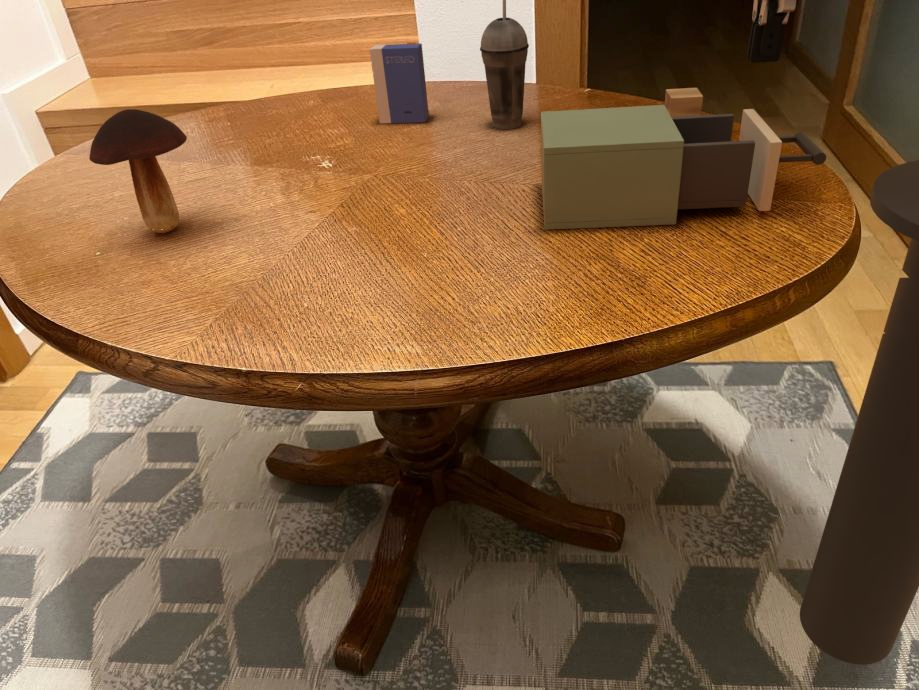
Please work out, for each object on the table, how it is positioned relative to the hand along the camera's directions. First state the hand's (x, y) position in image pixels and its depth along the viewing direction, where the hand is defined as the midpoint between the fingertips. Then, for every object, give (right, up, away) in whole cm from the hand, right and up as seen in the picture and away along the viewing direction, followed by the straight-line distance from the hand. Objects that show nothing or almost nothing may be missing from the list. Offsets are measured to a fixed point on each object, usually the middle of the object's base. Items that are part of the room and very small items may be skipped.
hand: (762, 60), depth 83 cm
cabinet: (-17, -16, +4) cm, 24 cm away
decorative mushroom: (-71, -18, +8) cm, 74 cm away
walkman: (-44, +4, +38) cm, 58 cm away
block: (-1, +1, +26) cm, 26 cm away
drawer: (-4, -14, +2) cm, 15 cm away
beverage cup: (-27, +2, +32) cm, 42 cm away
